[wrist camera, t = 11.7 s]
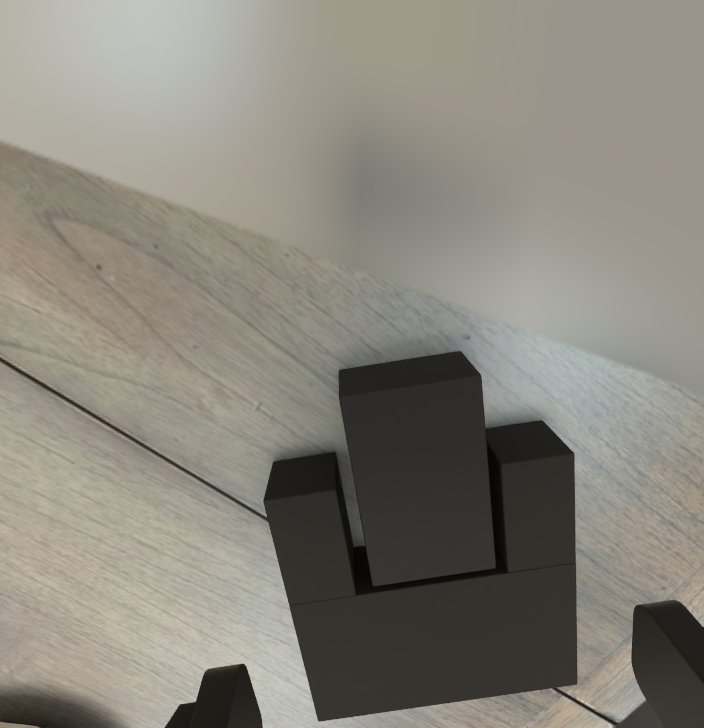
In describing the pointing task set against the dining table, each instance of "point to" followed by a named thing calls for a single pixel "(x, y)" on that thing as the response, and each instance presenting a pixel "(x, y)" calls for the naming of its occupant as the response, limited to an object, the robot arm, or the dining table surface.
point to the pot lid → (15, 725)
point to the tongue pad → (419, 466)
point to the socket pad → (433, 589)
